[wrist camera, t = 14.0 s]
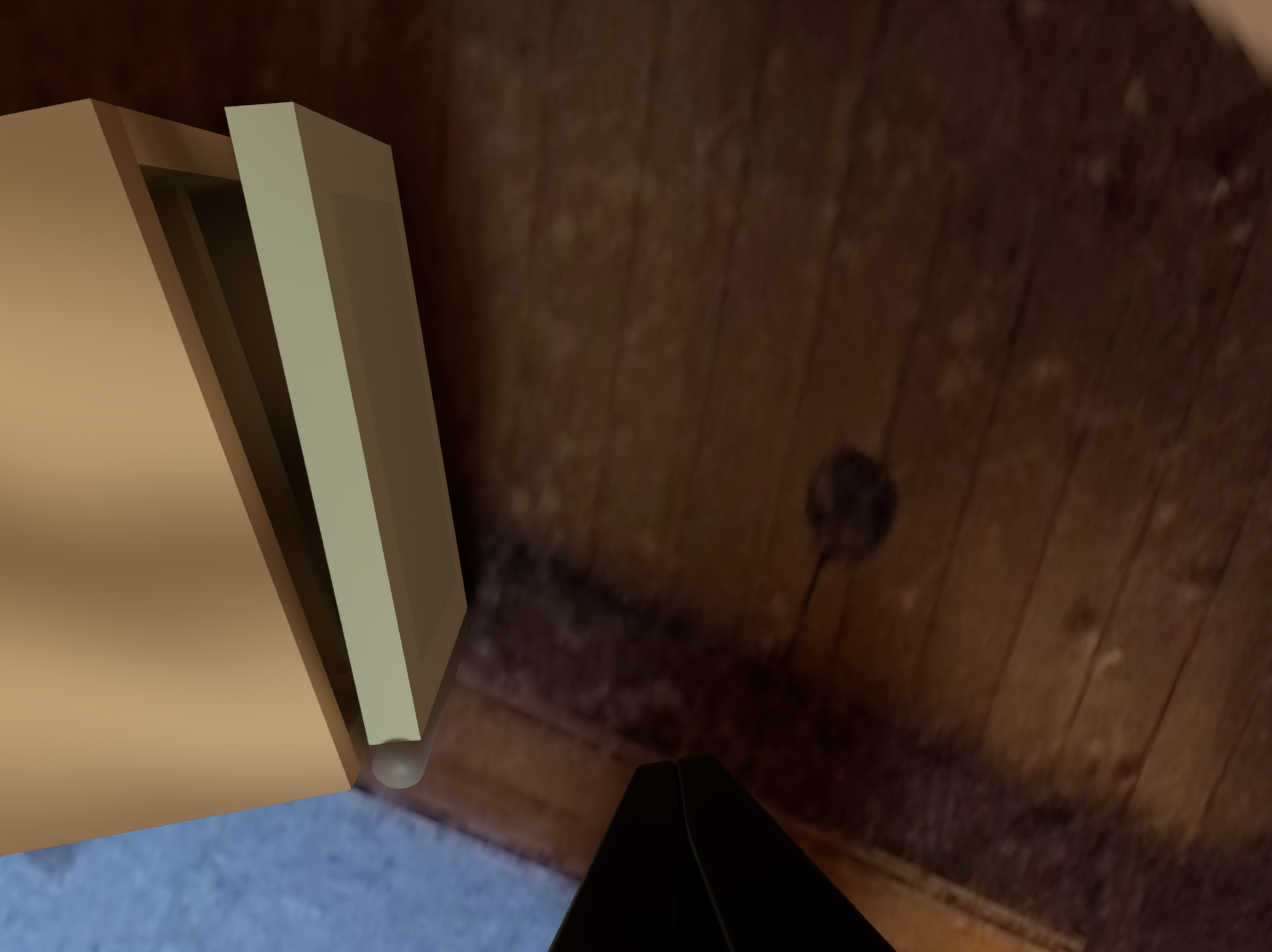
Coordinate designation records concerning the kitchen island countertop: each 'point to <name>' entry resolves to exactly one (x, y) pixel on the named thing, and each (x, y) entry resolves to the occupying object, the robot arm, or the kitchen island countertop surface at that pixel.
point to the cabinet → (151, 497)
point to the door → (360, 412)
